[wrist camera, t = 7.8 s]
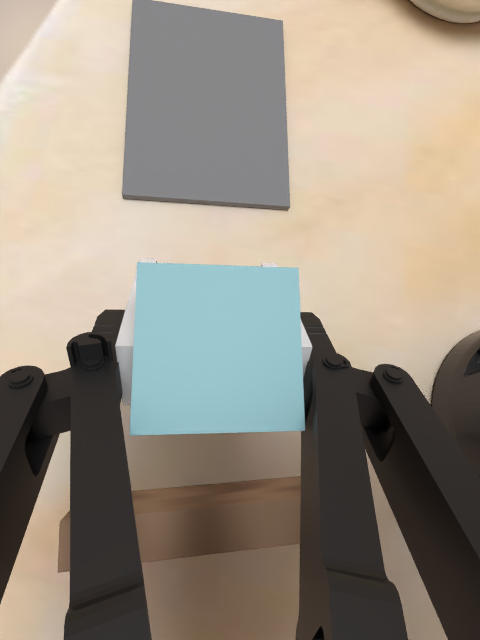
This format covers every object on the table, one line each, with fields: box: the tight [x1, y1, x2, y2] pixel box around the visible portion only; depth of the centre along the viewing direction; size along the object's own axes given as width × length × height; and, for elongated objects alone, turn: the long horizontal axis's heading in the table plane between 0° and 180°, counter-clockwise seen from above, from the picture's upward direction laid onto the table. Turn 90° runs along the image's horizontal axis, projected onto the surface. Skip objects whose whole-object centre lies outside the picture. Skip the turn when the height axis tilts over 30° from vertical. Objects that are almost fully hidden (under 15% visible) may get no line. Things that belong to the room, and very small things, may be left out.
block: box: [130, 262, 305, 436], centre depth 16 cm, size 5×5×10 cm
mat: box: [122, 0, 290, 210], centre depth 30 cm, size 13×18×1 cm
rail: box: [58, 476, 301, 573], centre depth 23 cm, size 16×2×5 cm, turn 92°
